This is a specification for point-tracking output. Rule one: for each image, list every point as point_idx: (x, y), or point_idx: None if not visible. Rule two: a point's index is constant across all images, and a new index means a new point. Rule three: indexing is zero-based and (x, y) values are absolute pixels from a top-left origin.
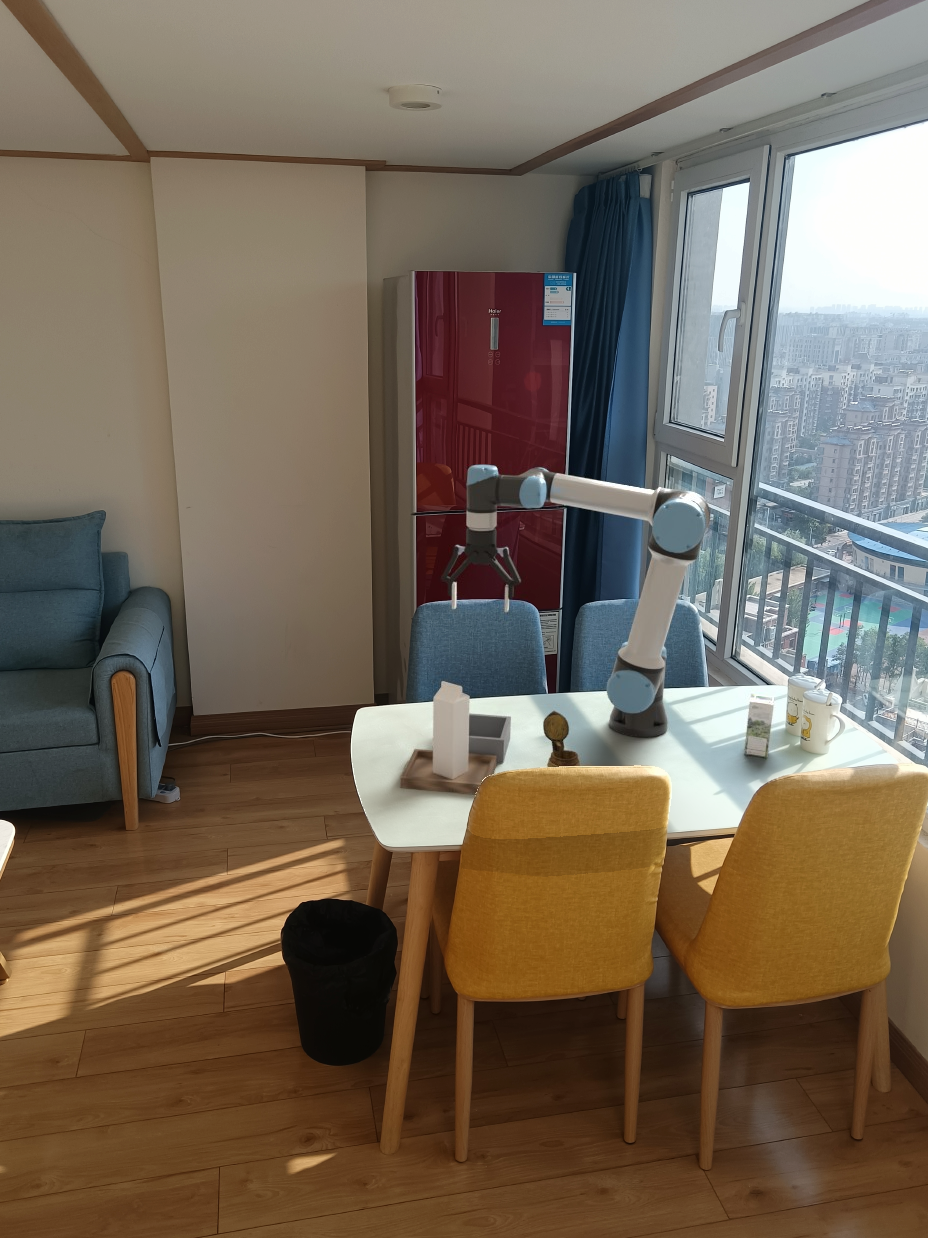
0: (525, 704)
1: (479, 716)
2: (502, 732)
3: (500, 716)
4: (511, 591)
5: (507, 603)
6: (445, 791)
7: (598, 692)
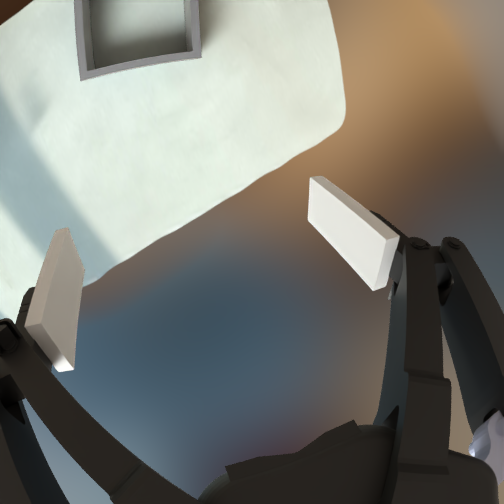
0: (111, 229)
1: (143, 58)
2: (81, 3)
3: (100, 71)
4: (23, 319)
5: (46, 255)
6: None
7: None
